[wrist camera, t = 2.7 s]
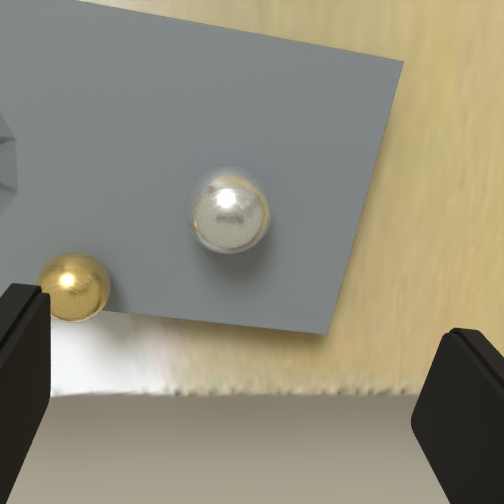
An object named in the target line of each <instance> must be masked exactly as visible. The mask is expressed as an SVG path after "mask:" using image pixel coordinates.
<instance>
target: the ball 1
mask: <svg viewBox="0 0 504 504" xmlns="http://www.w3.org/2000/svg"><path fill="white" fill-rule="evenodd" d="M36 285H39V286H41V288H42V292H43V293H49V294H50V299H51V316H52V317H53V318H55V319H57V320H60V321H64V322H81V321H85V320H87V319H90V318H92V317H93V316H95V315H96V314H97V313H99V312H100V311H101V310H102V309H103V307H104V306H105V304H106V303H107V301H108V299H109V295H110V290H111V282H110V277H109V274H108V272H107V270H106V268H105V267H104V266H103V265H102V263H101V262H100V261H98V260H97V259H96V258H94V257H92V256H90V255H88V254H85V253H80V252H68V253H64V254H60V255H58V256H56V257H54V258H53V259H51V260H50V261H48V262H47V263H46V264H45V265H44V267H43V268H42V269H41V271H40V273H39V275H38V278H37V282H36Z"/></svg>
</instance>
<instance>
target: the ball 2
mask: <svg viewBox="0 0 504 504" xmlns="http://www.w3.org/2000/svg"><path fill="white" fill-rule="evenodd" d="M272 213H273V212H272V200H271V197H270V194H269V192H268V190H267V188H266V186H265V185H264V183H263V182H262V181H261V180H260V179H259V178H258V177H257V176H256V175H254V174H253V173H252V172H250V171H248V170H246V169H243V168H240V167H236V166H221V167H217V168H213V169H211V170H209V171H207V172H205V173H204V174H202V175H201V176H200V177H199V178H198V179H197V180H196V181H195V182H194V183H193V185H192V186H191V188H190V190H189V192H188V194H187V197H186V201H185V219H186V223H187V225H188V228H189V230H190V232H191V234H192V235H193V236H194V238H195V239H196V240H197V241H198V242H199V243H200V244H202V245H203V246H204V247H206V248H207V249H209V250H212V251H214V252H217V253H222V254H235V253H240V252H243V251H246V250H248V249H250V248H252V247H253V246H255V245H256V244H257V243H258V242H259V241H260V240H261V239H262V238H263V237H264V235H265V234H266V232H267V231H268V229H269V226H270V223H271V219H272Z"/></svg>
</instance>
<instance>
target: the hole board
mask: <svg viewBox="0 0 504 504" xmlns="http://www.w3.org/2000/svg"><path fill="white" fill-rule="evenodd" d="M403 63H404V61H399V60H394V59H389V58H384V57H378V56H373V55H368V54H362V53H357V52H351V51H346V50H341V49H335V48H330V47H325V46H319V45H314V44H309V43H303V42H298V41H292V40H287V39H282V38H276V37H271V36H266V35H260V34H255V33H249V32H244V31H239V30H233V29H228V28H223V27H217V26H212V25H206V24H201V23H196V22H190V21H185V20H180V19H174V18H169V17H163V16H158V15H153V14H147V13H142V12H137V11H131V10H126V9H120V8H115V7H110V6H104V5H99V4H94V3H88V2H83V1H77V0H0V297H1V296H2V295H3V293H4V292H5V291H6V289H7V288H8V287H9V286H10V285H11V284H12V283H20V284H29V285H36V282H37V278H38V275H39V273H40V271H41V269H42V268H43V267H44V265H45V264H46V263H47V262H48V261H50V260H51V259H53V258H54V257H56V256H58V255H60V254H64V253H68V252H80V253H85V254H88V255H90V256H92V257H94V258H96V259H97V260H98V261H100V262H101V263H102V265H103V266H104V267H105V268H106V270H107V272H108V274H109V277H110V282H111V290H110V295H109V299H108V301H107V303H106V304H105V306H104V307H103V309H102V310H105V311H114V312H123V313H132V314H142V315H151V316H160V317H169V318H178V319H187V320H196V321H206V322H215V323H224V324H233V325H242V326H251V327H261V328H270V329H279V330H288V331H297V332H306V333H315V334H325V335H327V334H328V330H329V327H330V323H331V319H332V316H333V312H334V309H335V305H336V302H337V298H338V295H339V291H340V287H341V284H342V280H343V277H344V273H345V270H346V266H347V263H348V259H349V255H350V252H351V248H352V245H353V241H354V238H355V234H356V230H357V227H358V223H359V220H360V216H361V213H362V209H363V206H364V202H365V198H366V195H367V191H368V188H369V184H370V181H371V177H372V174H373V170H374V166H375V163H376V159H377V156H378V152H379V149H380V145H381V141H382V138H383V134H384V131H385V127H386V124H387V120H388V117H389V113H390V109H391V106H392V102H393V99H394V95H395V92H396V88H397V85H398V81H399V77H400V74H401V70H402V67H403ZM221 166H236V167H240V168H243V169H246V170H248V171H250V172H252V173H253V174H254V175H256V176H257V177H258V178H259V179H260V180H261V181H262V182H263V183H264V185H265V186H266V188H267V190H268V192H269V194H270V197H271V200H272V212H273V213H272V219H271V223H270V226H269V229H268V231H267V232H266V234H265V235H264V237H263V238H262V239H261V240H260V241H259V242H258V243H257V244H256V245H255V246H253V247H252V248H250V249H248V250H246V251H243V252H240V253H235V254H222V253H217V252H214V251H212V250H209V249H207V248H206V247H204V246H203V245H202V244H200V243H199V242H198V241H197V240H196V239H195V238H194V236H193V235H192V234H191V232H190V230H189V228H188V225H187V223H186V219H185V201H186V197H187V194H188V192H189V190H190V188H191V186H192V185H193V183H194V182H195V181H196V180H197V179H198V178H199V177H200V176H201V175H202V174H204V173H205V172H207V171H209V170H211V169H213V168H217V167H221Z"/></svg>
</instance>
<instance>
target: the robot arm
mask: <svg viewBox="0 0 504 504" xmlns="http://www.w3.org/2000/svg"><path fill="white" fill-rule="evenodd" d="M50 392H51V299H50V294H49V293H43V292H42V288H41V286H39V285H29V284H20V283H12V284H11V285H10V286H9V287H8V288H7V289H6V291H5V292H4V293H3V295H2V296H1V297H0V504H6V502H7V500H8V497H9V495H10V493H11V490H12V488H13V486H14V483H15V481H16V479H17V476H18V474H19V472H20V469H21V467H22V465H23V462H24V460H25V458H26V455H27V453H28V451H29V448H30V446H31V444H32V441H33V439H34V437H35V434H36V432H37V429H38V427H39V425H40V423H41V420H42V418H43V415H44V413H45V410H46V408H47V406H48V403H49V398H50ZM411 427H412V430H413V433H414V434H415V436H416V438H417V440H418V442H419V444H420V446H421V448H422V450H423V452H424V454H425V456H426V458H427V460H428V461H429V463H430V465H431V467H432V469H433V471H434V473H435V475H436V477H437V479H438V481H439V483H440V485H441V487H442V489H443V490H444V493H445V494H446V496H447V498H448V500H449V502H450V504H504V357H503V356H502V355H501V354H500V353H499V352H498V351H497V350H496V348H495V347H494V346H493V345H492V344H491V343H490V342H489V341H488V340H487V339H486V338H485V336H484V335H483V334H482V333H481V332H480V331H478V330H473V329H463V328H453V329H451V330H450V331H449V333H445V334H444V335H443V337H442V339H441V341H440V344H439V347H438V349H437V352H436V354H435V357H434V360H433V362H432V365H431V367H430V370H429V372H428V375H427V378H426V380H425V383H424V385H423V388H422V390H421V393H420V396H419V398H418V401H417V403H416V406H415V408H414V411H413V414H412V417H411Z"/></svg>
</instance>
